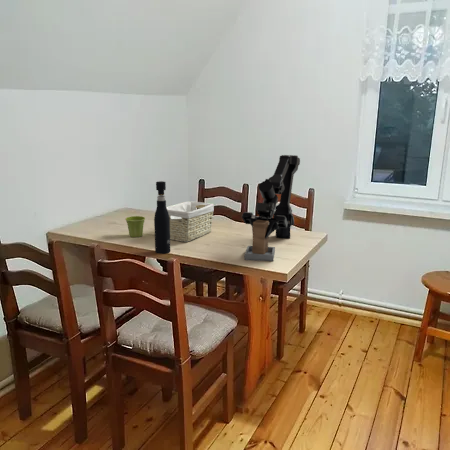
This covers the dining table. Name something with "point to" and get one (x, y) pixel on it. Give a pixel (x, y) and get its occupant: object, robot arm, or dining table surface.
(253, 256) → the tray
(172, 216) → the storage basket
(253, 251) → the walnut block
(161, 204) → the black bottle
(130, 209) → the dining table surface
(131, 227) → the plant pot
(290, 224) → the robot arm
